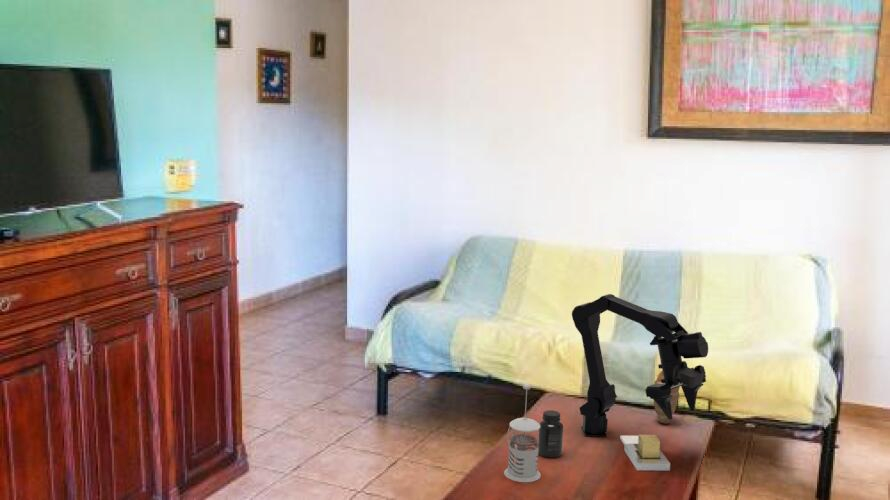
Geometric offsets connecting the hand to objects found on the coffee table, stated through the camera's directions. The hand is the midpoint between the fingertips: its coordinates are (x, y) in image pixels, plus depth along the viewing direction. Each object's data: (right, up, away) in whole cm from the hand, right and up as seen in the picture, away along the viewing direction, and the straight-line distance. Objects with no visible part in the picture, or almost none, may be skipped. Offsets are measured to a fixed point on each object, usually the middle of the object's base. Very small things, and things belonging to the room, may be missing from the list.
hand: (681, 414), depth 229 cm
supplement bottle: (-36, -12, +4) cm, 38 cm away
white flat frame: (-9, -13, +2) cm, 16 cm away
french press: (-45, -14, -8) cm, 48 cm away
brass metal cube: (-9, -13, +1) cm, 16 cm away
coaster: (-9, -11, +13) cm, 19 cm away
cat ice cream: (+3, -9, +29) cm, 31 cm away
